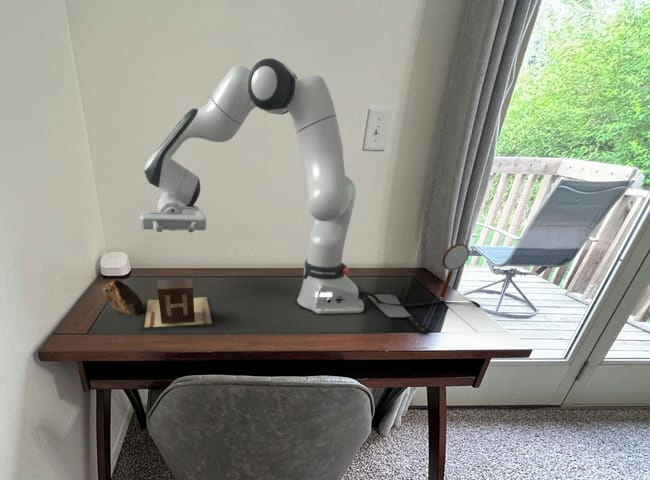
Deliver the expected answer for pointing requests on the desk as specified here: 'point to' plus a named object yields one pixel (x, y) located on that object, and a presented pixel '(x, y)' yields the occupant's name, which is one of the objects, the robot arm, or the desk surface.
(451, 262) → the magnifying glass
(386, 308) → the cleaver
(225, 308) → the desk surface
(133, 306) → the decorative rock
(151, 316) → the game board
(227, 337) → the desk surface
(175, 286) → the tall rectangular block
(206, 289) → the desk surface
